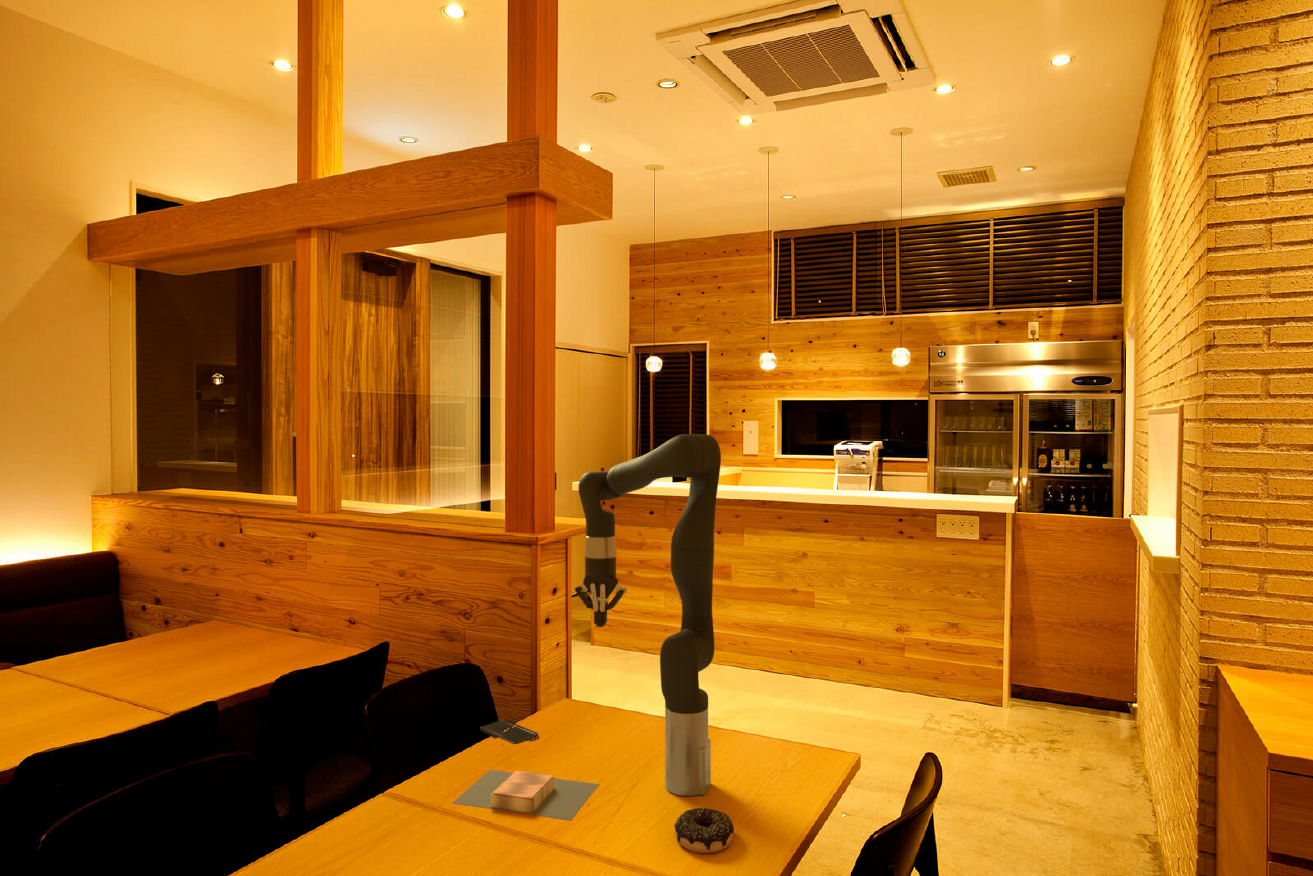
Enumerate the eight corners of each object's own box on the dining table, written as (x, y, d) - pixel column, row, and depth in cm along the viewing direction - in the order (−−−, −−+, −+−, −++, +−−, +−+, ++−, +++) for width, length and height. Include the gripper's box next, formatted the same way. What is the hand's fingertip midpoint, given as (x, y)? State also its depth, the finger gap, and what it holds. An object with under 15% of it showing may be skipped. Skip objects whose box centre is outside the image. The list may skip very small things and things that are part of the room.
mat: (599, 786, 166) (599, 784, 166) (570, 823, 151) (570, 820, 151) (490, 772, 174) (490, 769, 174) (451, 805, 158) (451, 803, 158)
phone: (503, 719, 204) (540, 734, 193) (503, 723, 204) (540, 738, 193) (478, 727, 198) (514, 743, 188) (478, 732, 198) (514, 748, 188)
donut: (730, 823, 151) (730, 803, 151) (737, 857, 139) (737, 835, 139) (673, 824, 151) (673, 804, 151) (676, 858, 139) (676, 835, 139)
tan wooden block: (554, 775, 165) (532, 799, 154) (554, 788, 165) (532, 813, 154) (515, 770, 167) (491, 793, 157) (515, 783, 167) (491, 807, 157)
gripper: (568, 555, 185) (569, 628, 186) (621, 558, 182) (621, 632, 182) (580, 551, 193) (580, 620, 193) (631, 553, 189) (631, 624, 189)
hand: (600, 626), depth 187 cm, fingers closed
